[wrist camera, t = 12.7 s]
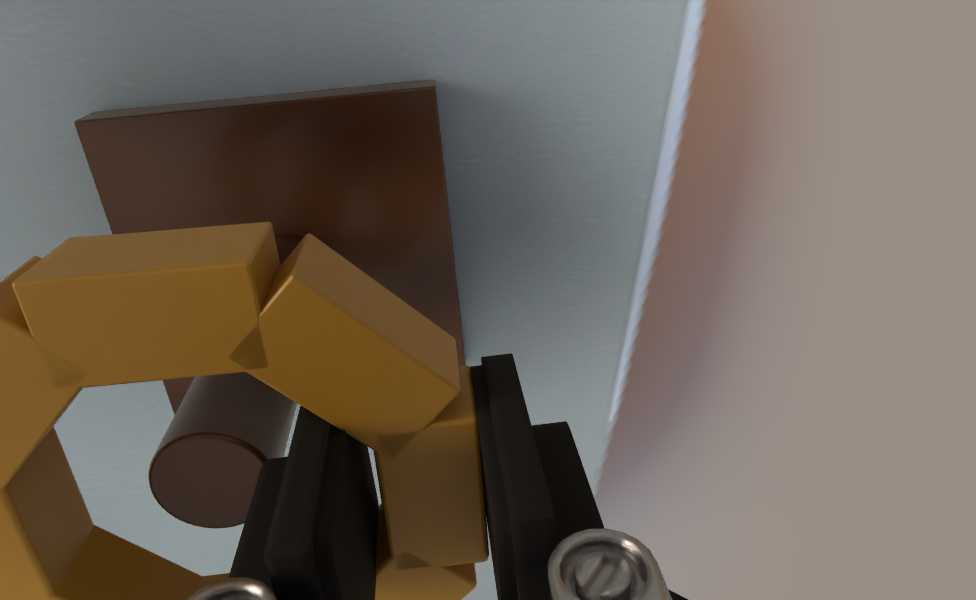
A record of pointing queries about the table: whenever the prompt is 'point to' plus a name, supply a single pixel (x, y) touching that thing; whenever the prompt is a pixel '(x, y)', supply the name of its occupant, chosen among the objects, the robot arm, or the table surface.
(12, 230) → the table surface
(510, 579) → the robot arm
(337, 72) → the table surface
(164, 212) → the post stand
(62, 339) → the ring
